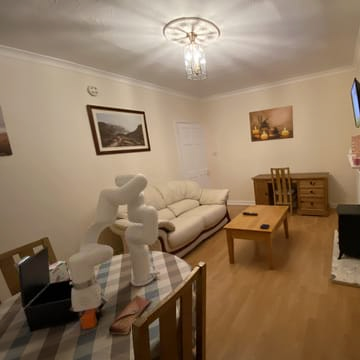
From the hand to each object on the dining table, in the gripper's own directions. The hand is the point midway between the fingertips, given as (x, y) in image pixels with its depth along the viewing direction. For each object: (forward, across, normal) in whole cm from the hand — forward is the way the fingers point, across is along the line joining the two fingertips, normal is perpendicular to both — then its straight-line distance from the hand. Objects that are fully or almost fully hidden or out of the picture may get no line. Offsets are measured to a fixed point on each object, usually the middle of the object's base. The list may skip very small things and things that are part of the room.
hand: (92, 319), depth 90 cm
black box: (+1, -15, +10) cm, 18 cm away
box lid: (-20, -22, +10) cm, 31 cm away
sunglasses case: (+1, +17, -3) cm, 17 cm away
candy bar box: (+1, -25, +24) cm, 35 cm away
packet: (+1, 0, 0) cm, 1 cm away
